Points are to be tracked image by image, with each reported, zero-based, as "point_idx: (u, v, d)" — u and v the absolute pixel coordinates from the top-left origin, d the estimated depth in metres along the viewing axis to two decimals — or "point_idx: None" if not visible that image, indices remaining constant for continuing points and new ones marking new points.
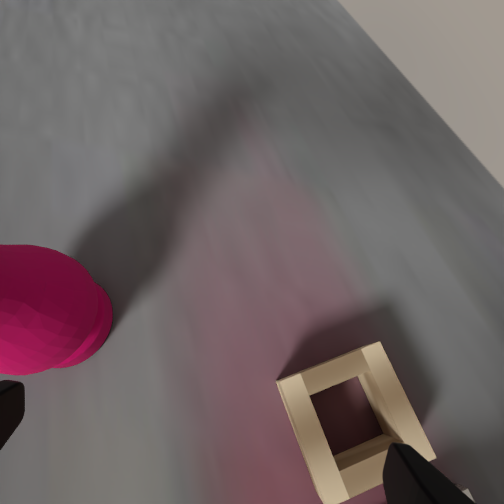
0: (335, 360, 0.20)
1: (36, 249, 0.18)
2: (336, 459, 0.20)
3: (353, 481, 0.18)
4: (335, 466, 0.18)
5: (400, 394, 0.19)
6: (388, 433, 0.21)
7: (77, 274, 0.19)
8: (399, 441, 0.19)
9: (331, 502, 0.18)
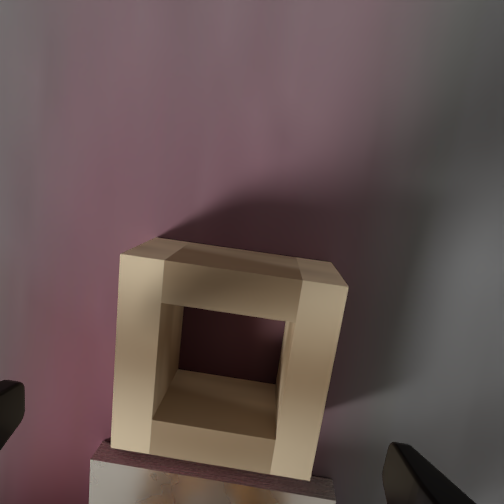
0: (242, 273, 0.10)
1: None
2: (182, 383, 0.13)
3: (166, 441, 0.11)
4: (150, 411, 0.11)
5: (319, 382, 0.10)
6: (276, 395, 0.13)
7: None
8: (272, 430, 0.11)
9: (120, 444, 0.11)
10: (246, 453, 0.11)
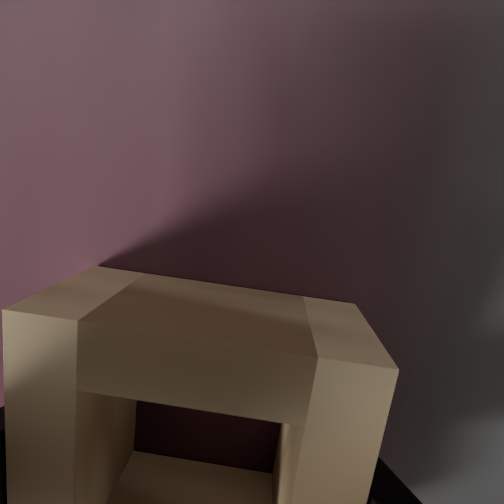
0: (212, 344, 0.06)
1: None
2: (135, 480, 0.09)
3: None
4: None
5: None
6: (273, 501, 0.08)
7: None
8: None
9: None
10: None
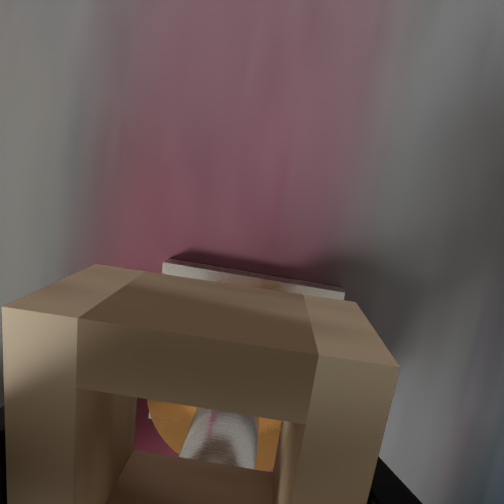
0: (212, 342, 0.05)
1: None
2: (135, 479, 0.09)
3: None
4: None
5: None
6: (273, 499, 0.08)
7: None
8: None
9: None
10: None
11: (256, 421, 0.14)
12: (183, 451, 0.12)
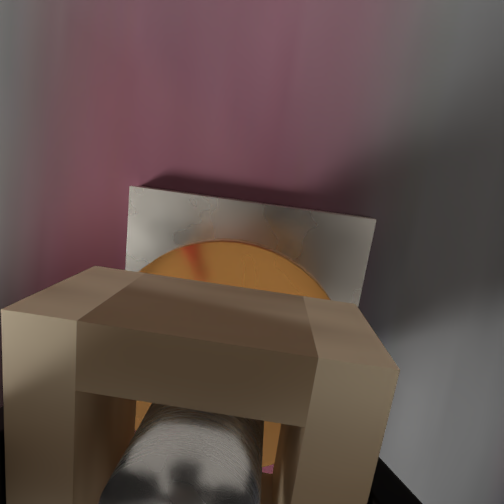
0: (211, 345, 0.05)
1: None
2: None
3: None
4: None
5: None
6: (273, 501, 0.08)
7: None
8: None
9: None
10: None
11: None
12: (140, 425, 0.07)
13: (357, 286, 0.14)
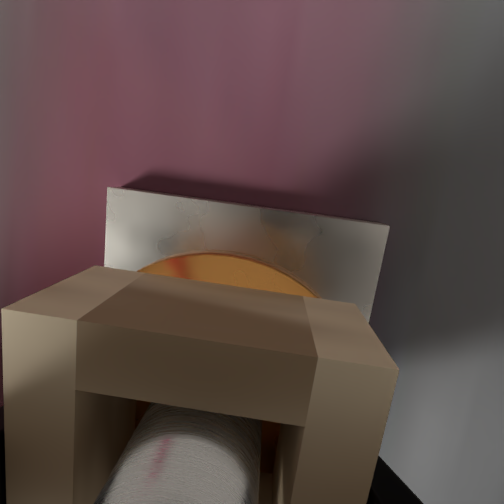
0: (211, 344, 0.05)
1: None
2: None
3: None
4: None
5: None
6: (272, 501, 0.08)
7: None
8: None
9: None
10: None
11: (256, 432, 0.07)
12: None
13: (367, 301, 0.12)
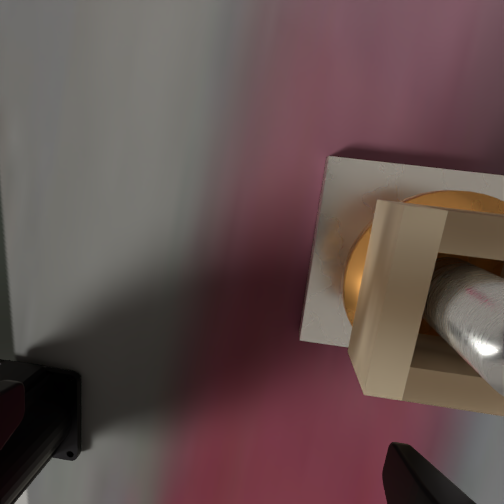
0: None
1: None
2: None
3: (421, 387, 0.11)
4: (409, 359, 0.11)
5: None
6: None
7: None
8: None
9: (374, 391, 0.12)
10: (501, 398, 0.11)
11: None
12: (472, 304, 0.10)
13: None
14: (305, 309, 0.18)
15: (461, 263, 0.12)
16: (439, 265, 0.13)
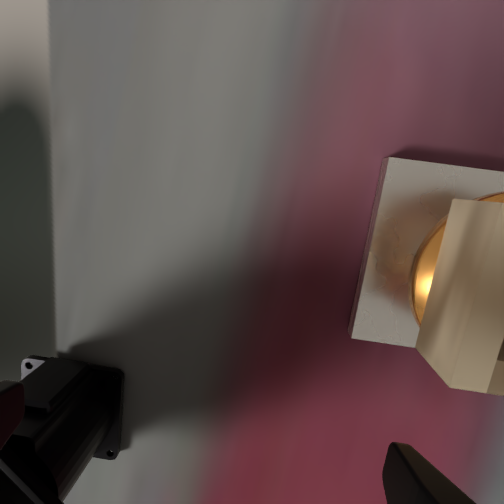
0: None
1: None
2: None
3: None
4: (496, 352, 0.12)
5: None
6: None
7: None
8: None
9: (459, 384, 0.12)
10: None
11: None
12: None
13: None
14: (358, 307, 0.19)
15: None
16: None
